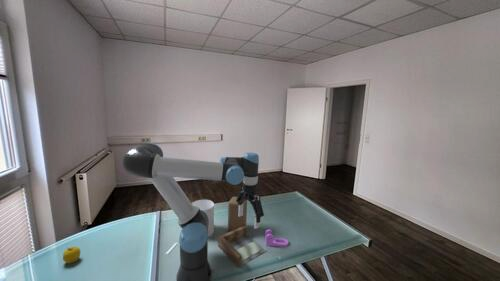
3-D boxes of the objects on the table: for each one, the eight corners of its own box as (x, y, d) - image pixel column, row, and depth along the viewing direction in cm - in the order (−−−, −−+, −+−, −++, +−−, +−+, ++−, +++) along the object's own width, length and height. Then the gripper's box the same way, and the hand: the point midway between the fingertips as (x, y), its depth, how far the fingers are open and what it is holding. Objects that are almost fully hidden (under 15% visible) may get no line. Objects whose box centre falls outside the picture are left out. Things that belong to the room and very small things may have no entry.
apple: (61, 263, 94) (59, 248, 92) (78, 255, 99) (77, 241, 98) (65, 269, 90) (63, 253, 89) (83, 260, 95) (81, 246, 94)
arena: (238, 268, 94) (238, 257, 93) (218, 246, 108) (218, 236, 107) (266, 251, 105) (266, 241, 105) (245, 234, 120) (245, 225, 119)
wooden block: (243, 235, 119) (243, 204, 116) (227, 232, 121) (227, 202, 118) (246, 225, 129) (247, 197, 126) (232, 223, 131) (232, 195, 128)
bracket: (266, 246, 110) (266, 235, 109) (265, 239, 115) (265, 229, 114) (289, 247, 110) (289, 235, 109) (287, 240, 115) (287, 229, 114)
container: (188, 228, 124) (187, 202, 122) (210, 223, 131) (210, 197, 128) (193, 241, 112) (192, 212, 109) (217, 235, 118) (217, 207, 116)
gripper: (272, 189, 92) (270, 230, 95) (241, 175, 111) (240, 209, 114) (261, 193, 87) (258, 236, 90) (230, 177, 106) (229, 213, 110)
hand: (248, 221), depth 102 cm, fingers open, 13 cm apart
